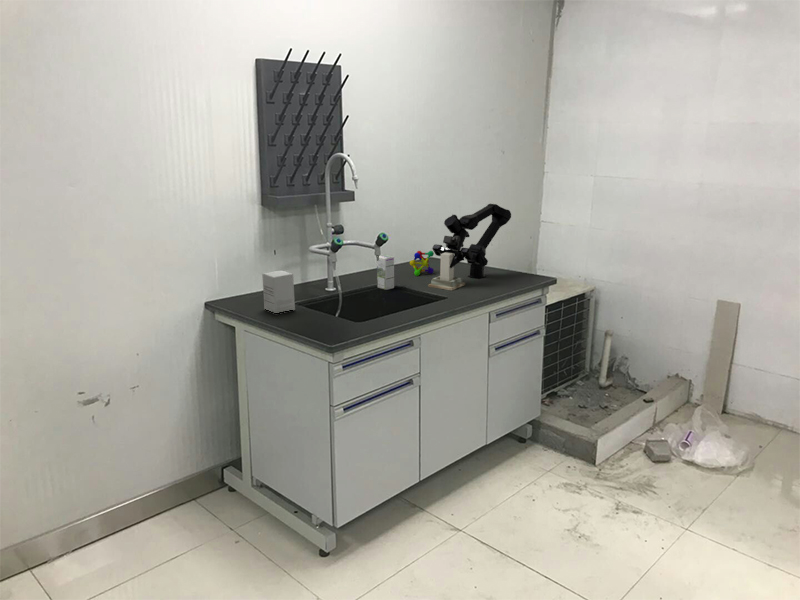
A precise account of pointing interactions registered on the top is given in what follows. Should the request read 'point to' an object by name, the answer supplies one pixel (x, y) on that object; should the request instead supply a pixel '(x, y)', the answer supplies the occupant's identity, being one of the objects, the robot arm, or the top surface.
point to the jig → (446, 283)
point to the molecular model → (424, 262)
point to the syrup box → (385, 272)
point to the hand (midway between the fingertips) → (445, 267)
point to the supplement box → (278, 291)
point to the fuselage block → (446, 267)
